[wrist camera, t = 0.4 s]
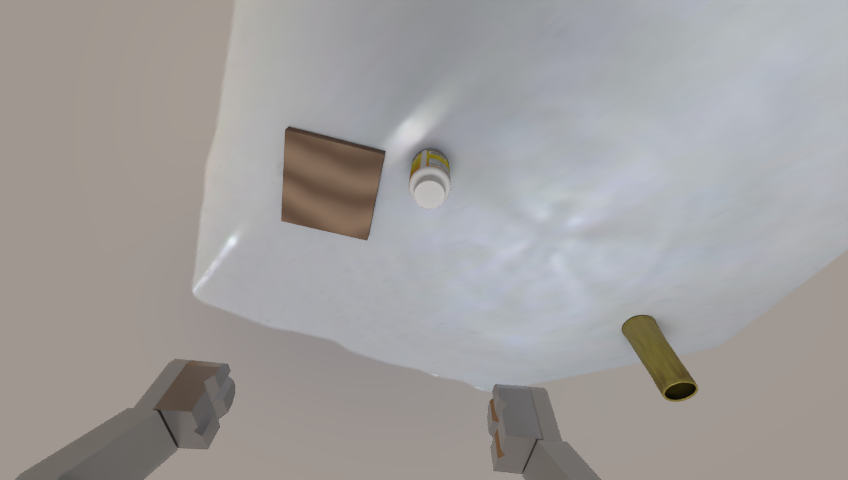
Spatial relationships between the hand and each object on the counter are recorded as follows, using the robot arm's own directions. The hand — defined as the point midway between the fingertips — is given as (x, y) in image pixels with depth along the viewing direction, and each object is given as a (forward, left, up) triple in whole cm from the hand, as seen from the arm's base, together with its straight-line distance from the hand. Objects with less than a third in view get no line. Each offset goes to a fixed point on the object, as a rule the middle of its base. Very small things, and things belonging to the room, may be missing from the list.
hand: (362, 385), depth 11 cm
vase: (+30, +51, -45) cm, 74 cm away
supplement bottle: (+9, +4, -45) cm, 46 cm away
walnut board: (+16, -10, -44) cm, 48 cm away
